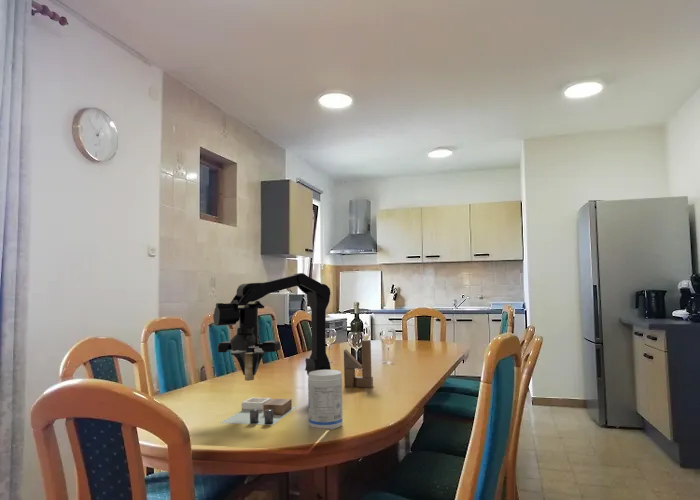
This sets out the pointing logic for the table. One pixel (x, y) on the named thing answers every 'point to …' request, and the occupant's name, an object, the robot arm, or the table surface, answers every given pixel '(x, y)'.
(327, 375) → the supplement tub
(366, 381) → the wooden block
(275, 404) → the cardboard brown brick
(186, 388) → the table surface
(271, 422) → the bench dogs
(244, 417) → the mat
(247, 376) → the dowel
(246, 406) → the tray
